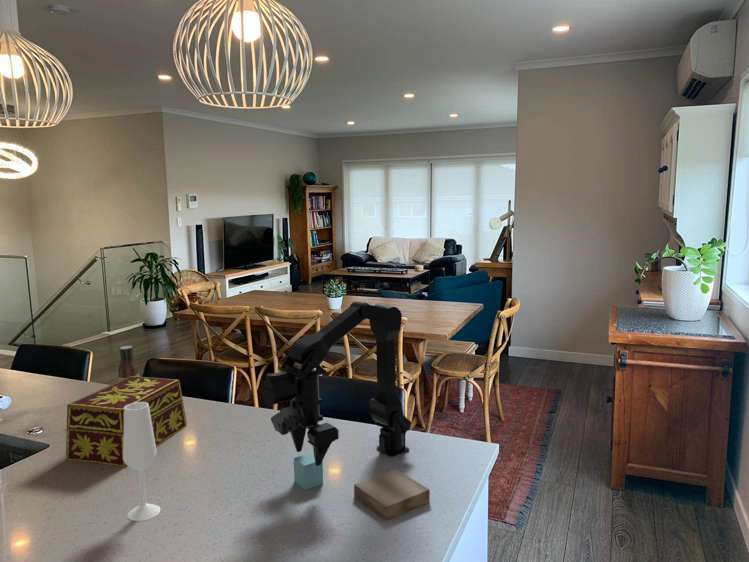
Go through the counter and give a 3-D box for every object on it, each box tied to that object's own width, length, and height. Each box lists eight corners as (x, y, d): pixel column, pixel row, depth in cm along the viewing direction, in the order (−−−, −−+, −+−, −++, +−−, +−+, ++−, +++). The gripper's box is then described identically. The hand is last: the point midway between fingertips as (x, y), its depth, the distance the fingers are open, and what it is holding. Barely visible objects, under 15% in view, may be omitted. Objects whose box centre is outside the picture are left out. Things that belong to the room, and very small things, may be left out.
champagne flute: (163, 502, 126) (156, 399, 122) (157, 519, 119) (149, 410, 116) (131, 505, 124) (123, 401, 121) (123, 522, 118) (115, 412, 115)
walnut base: (395, 481, 134) (395, 469, 134) (429, 502, 125) (429, 489, 124) (354, 496, 127) (354, 484, 127) (386, 520, 118) (386, 506, 117)
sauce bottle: (138, 400, 192) (134, 343, 189) (145, 404, 187) (141, 346, 185) (118, 404, 188) (113, 346, 185) (124, 409, 183) (120, 350, 180)
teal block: (312, 475, 138) (312, 452, 137) (323, 483, 134) (322, 459, 133) (294, 481, 135) (293, 458, 134) (304, 490, 131) (303, 465, 130)
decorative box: (134, 421, 174) (130, 374, 172) (187, 426, 169) (184, 378, 167) (65, 460, 148) (60, 405, 145) (126, 467, 143) (122, 411, 141)
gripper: (257, 391, 134) (260, 453, 136) (294, 414, 119) (297, 484, 121) (298, 382, 140) (300, 441, 143) (339, 403, 126) (340, 469, 128)
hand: (308, 458), depth 133 cm, fingers open, 9 cm apart
